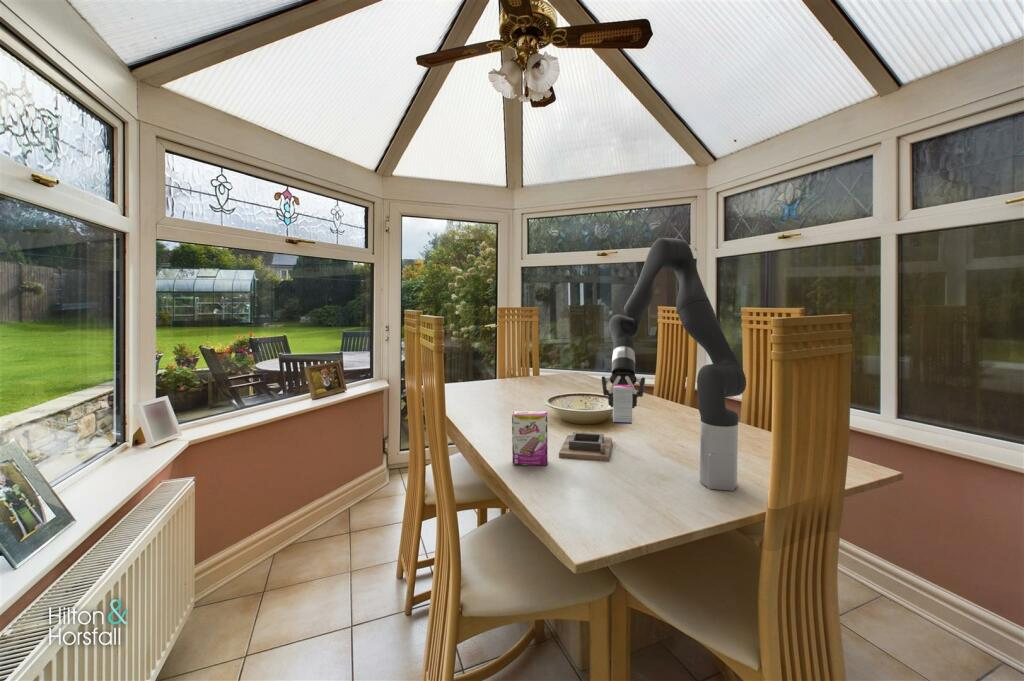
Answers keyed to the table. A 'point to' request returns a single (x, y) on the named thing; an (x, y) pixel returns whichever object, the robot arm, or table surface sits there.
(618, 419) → the supplement box
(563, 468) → the table surface
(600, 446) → the nest plate
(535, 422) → the candy bar box
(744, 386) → the robot arm
